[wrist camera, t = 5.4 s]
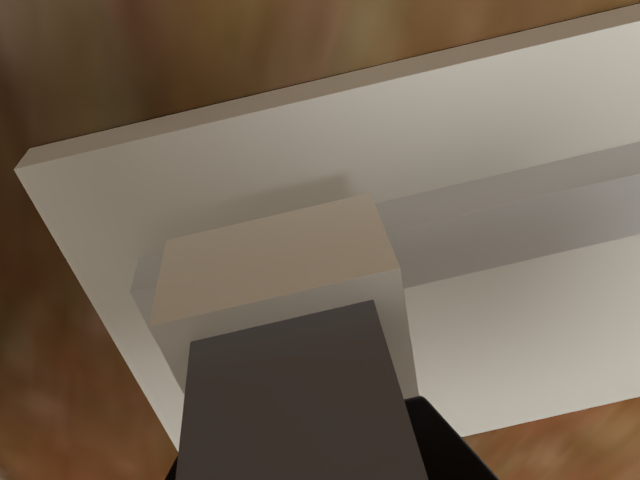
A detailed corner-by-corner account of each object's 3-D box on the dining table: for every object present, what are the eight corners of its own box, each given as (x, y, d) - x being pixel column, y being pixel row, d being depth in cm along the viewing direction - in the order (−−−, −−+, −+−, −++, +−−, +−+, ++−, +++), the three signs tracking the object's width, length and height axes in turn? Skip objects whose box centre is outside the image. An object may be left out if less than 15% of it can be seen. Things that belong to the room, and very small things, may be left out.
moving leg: (400, 394, 16) (530, 826, 9) (261, 426, 16) (278, 882, 9) (360, 166, 11) (549, 643, 4) (172, 211, 11) (62, 751, 4)
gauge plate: (912, 306, 18) (1087, 421, 14) (205, 467, 19) (196, 621, 15) (1149, -118, 11) (1598, -111, 8) (29, 148, 12) (-72, 281, 8)
